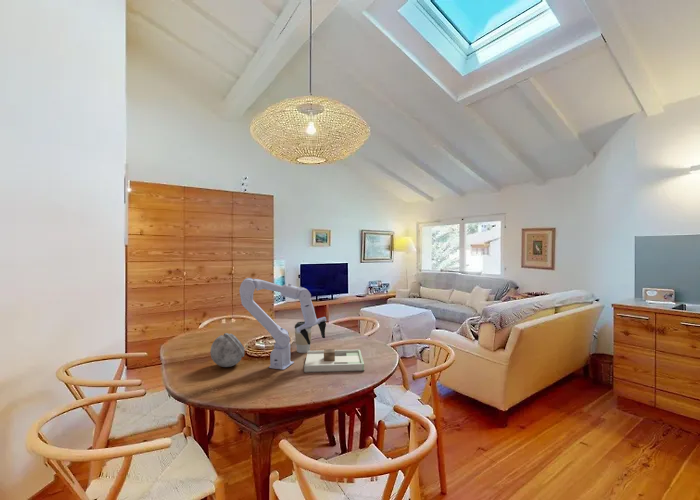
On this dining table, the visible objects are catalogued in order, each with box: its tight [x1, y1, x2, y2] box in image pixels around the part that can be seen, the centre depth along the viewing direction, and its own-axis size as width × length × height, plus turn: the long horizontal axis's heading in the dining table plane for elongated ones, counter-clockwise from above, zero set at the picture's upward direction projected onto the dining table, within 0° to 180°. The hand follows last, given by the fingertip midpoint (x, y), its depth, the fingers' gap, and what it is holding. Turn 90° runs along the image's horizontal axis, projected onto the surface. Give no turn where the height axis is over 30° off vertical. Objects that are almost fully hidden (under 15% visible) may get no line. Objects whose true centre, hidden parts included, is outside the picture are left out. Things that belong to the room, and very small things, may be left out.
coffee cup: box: [293, 320, 312, 354], centre depth 167 cm, size 9×9×15 cm
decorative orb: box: [210, 332, 246, 368], centre depth 146 cm, size 15×14×15 cm
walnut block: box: [323, 348, 336, 361], centre depth 149 cm, size 5×5×4 cm
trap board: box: [303, 349, 365, 374], centre depth 149 cm, size 26×20×3 cm
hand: (316, 340), depth 151 cm, fingers open, 7 cm apart
